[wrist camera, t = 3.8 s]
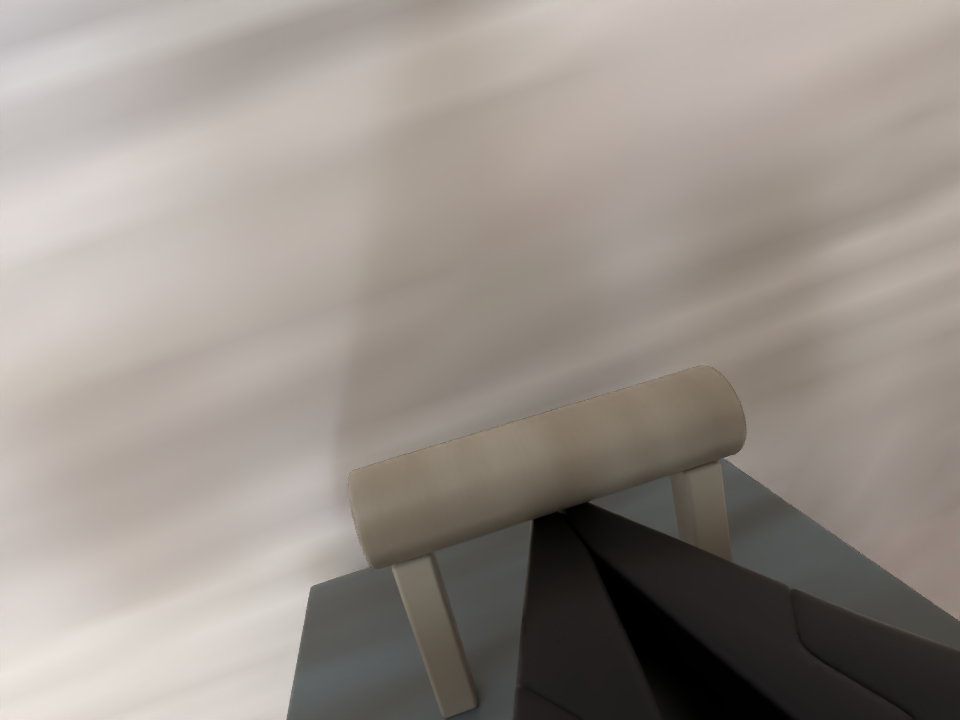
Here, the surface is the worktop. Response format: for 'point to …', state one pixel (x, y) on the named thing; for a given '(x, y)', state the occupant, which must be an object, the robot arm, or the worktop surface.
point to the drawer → (505, 540)
